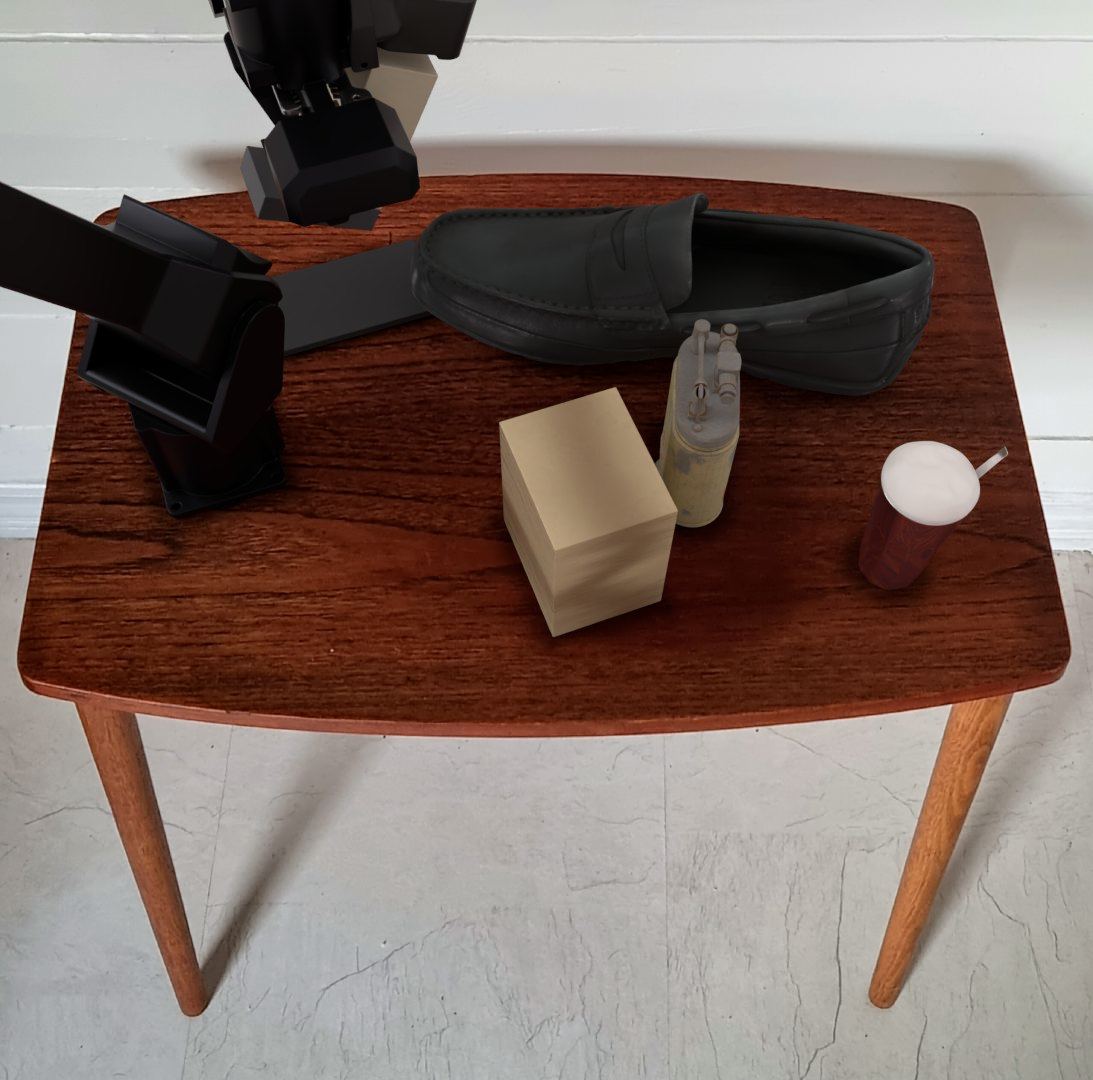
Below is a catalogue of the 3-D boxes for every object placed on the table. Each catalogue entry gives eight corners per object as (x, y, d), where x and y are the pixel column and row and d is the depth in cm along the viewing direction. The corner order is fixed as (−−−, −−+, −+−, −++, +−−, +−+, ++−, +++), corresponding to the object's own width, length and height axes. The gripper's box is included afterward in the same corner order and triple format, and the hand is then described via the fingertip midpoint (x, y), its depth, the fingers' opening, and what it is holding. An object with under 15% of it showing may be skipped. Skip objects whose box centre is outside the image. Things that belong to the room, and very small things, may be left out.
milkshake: (958, 593, 63) (1024, 491, 55) (858, 607, 63) (909, 507, 54) (931, 519, 66) (990, 410, 57) (834, 532, 65) (880, 424, 57)
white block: (372, 231, 66) (438, 76, 60) (257, 219, 63) (314, 52, 56) (351, 182, 68) (414, 26, 61) (239, 167, 65) (292, 0, 58)
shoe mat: (246, 367, 71) (245, 362, 70) (224, 295, 73) (222, 289, 73) (444, 312, 73) (443, 306, 72) (414, 244, 75) (414, 238, 75)
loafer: (427, 245, 75) (412, 112, 67) (899, 279, 74) (948, 148, 65) (402, 378, 70) (383, 253, 61) (909, 416, 69) (964, 295, 60)
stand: (552, 637, 62) (555, 550, 54) (503, 519, 66) (498, 421, 58) (661, 601, 63) (678, 510, 55) (606, 486, 67) (616, 386, 59)
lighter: (722, 531, 65) (750, 422, 57) (651, 526, 65) (668, 417, 57) (722, 423, 69) (749, 304, 60) (655, 418, 69) (672, 300, 60)
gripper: (524, 13, 49) (527, 278, 63) (390, -224, 58) (418, 53, 72) (255, 76, 47) (317, 336, 61) (158, -180, 56) (231, 97, 70)
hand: (327, 194), depth 66 cm, fingers closed on white block, 4 cm apart
